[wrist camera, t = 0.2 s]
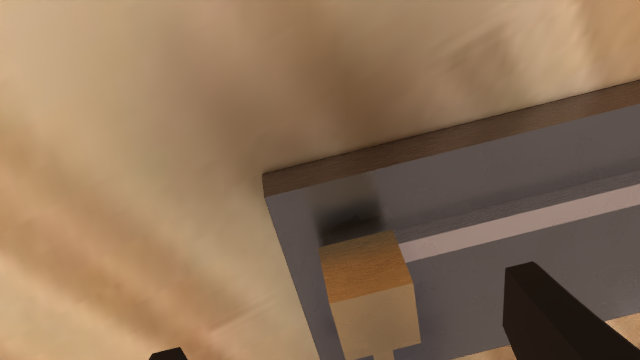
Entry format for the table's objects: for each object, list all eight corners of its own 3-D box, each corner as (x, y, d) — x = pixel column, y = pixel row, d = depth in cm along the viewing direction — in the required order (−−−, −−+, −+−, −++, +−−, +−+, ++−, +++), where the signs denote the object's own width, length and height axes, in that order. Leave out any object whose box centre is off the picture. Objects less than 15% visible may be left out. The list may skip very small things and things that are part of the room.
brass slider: (407, 337, 25) (428, 401, 23) (348, 352, 25) (362, 418, 23) (388, 219, 20) (413, 282, 18) (315, 237, 20) (329, 303, 18)
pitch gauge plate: (769, 255, 29) (845, 318, 26) (326, 365, 29) (340, 444, 26) (887, 18, 21) (1025, 64, 17) (262, 174, 21) (269, 252, 17)
